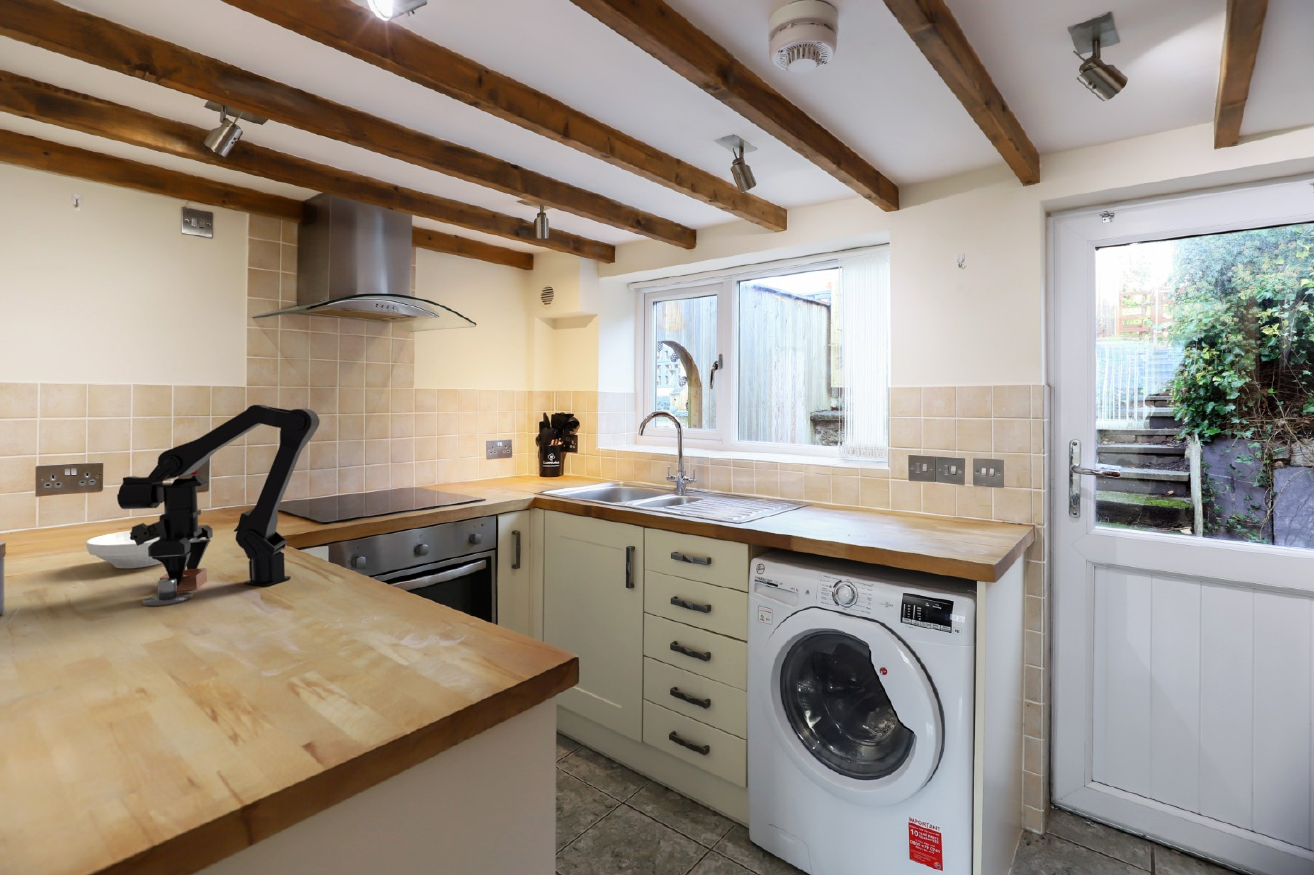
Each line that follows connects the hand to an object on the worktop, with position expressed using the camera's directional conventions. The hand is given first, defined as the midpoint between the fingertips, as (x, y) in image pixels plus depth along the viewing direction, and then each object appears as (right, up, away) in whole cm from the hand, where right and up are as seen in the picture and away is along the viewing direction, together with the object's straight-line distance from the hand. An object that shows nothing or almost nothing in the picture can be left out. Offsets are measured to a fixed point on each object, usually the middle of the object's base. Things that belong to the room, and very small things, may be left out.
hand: (184, 579), depth 140 cm
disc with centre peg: (+4, -2, -9) cm, 10 cm away
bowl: (-24, -1, +18) cm, 30 cm away
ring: (0, -2, 0) cm, 2 cm away
